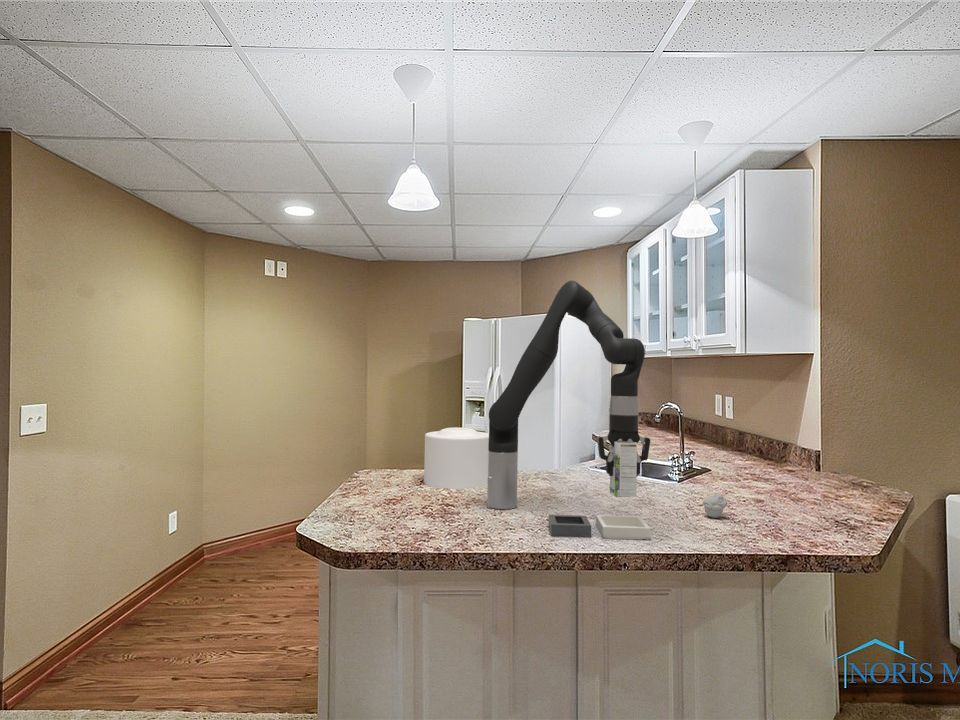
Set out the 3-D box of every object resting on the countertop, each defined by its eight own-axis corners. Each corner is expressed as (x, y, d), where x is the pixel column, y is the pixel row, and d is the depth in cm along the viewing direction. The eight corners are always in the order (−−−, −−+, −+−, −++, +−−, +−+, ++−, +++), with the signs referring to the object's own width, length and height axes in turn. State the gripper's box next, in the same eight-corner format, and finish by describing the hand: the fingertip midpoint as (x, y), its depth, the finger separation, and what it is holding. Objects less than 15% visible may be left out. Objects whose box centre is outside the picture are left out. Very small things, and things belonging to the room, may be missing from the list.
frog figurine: (728, 521, 168) (729, 497, 168) (702, 519, 170) (703, 495, 170) (726, 516, 174) (726, 492, 174) (701, 514, 176) (701, 491, 176)
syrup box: (609, 492, 157) (609, 439, 157) (630, 492, 158) (630, 438, 158) (615, 497, 151) (615, 441, 152) (637, 497, 152) (637, 441, 152)
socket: (551, 536, 150) (551, 524, 150) (548, 525, 160) (548, 514, 160) (591, 537, 149) (591, 525, 149) (585, 526, 160) (585, 515, 160)
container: (430, 474, 232) (431, 424, 232) (493, 477, 229) (494, 426, 230) (417, 487, 207) (418, 431, 207) (487, 490, 204) (488, 433, 205)
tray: (603, 538, 148) (603, 527, 148) (595, 525, 160) (595, 515, 160) (650, 540, 148) (650, 528, 148) (639, 527, 160) (639, 516, 160)
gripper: (599, 413, 151) (598, 478, 151) (654, 414, 151) (654, 479, 151) (594, 411, 159) (593, 472, 159) (647, 412, 158) (646, 473, 158)
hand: (623, 475), depth 155 cm, fingers closed on syrup box, 6 cm apart
